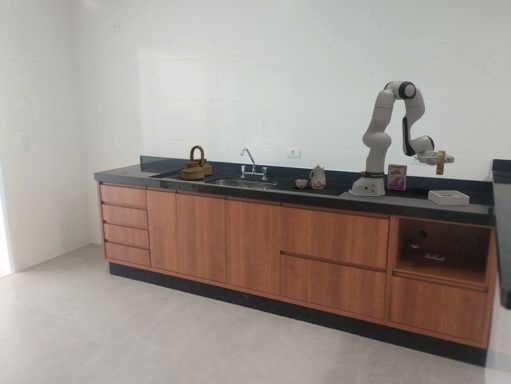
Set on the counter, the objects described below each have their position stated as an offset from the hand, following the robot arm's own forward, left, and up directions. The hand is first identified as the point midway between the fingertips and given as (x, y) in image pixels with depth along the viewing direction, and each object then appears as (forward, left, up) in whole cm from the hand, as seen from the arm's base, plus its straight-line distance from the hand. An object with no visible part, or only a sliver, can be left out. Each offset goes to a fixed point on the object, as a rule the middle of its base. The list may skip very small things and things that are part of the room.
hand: (441, 161), depth 245 cm
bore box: (0, -13, -22) cm, 25 cm away
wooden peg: (0, +1, -8) cm, 8 cm away
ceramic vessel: (-157, +75, -22) cm, 175 cm away
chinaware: (-71, +33, -22) cm, 81 cm away
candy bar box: (-18, +23, -22) cm, 37 cm away
